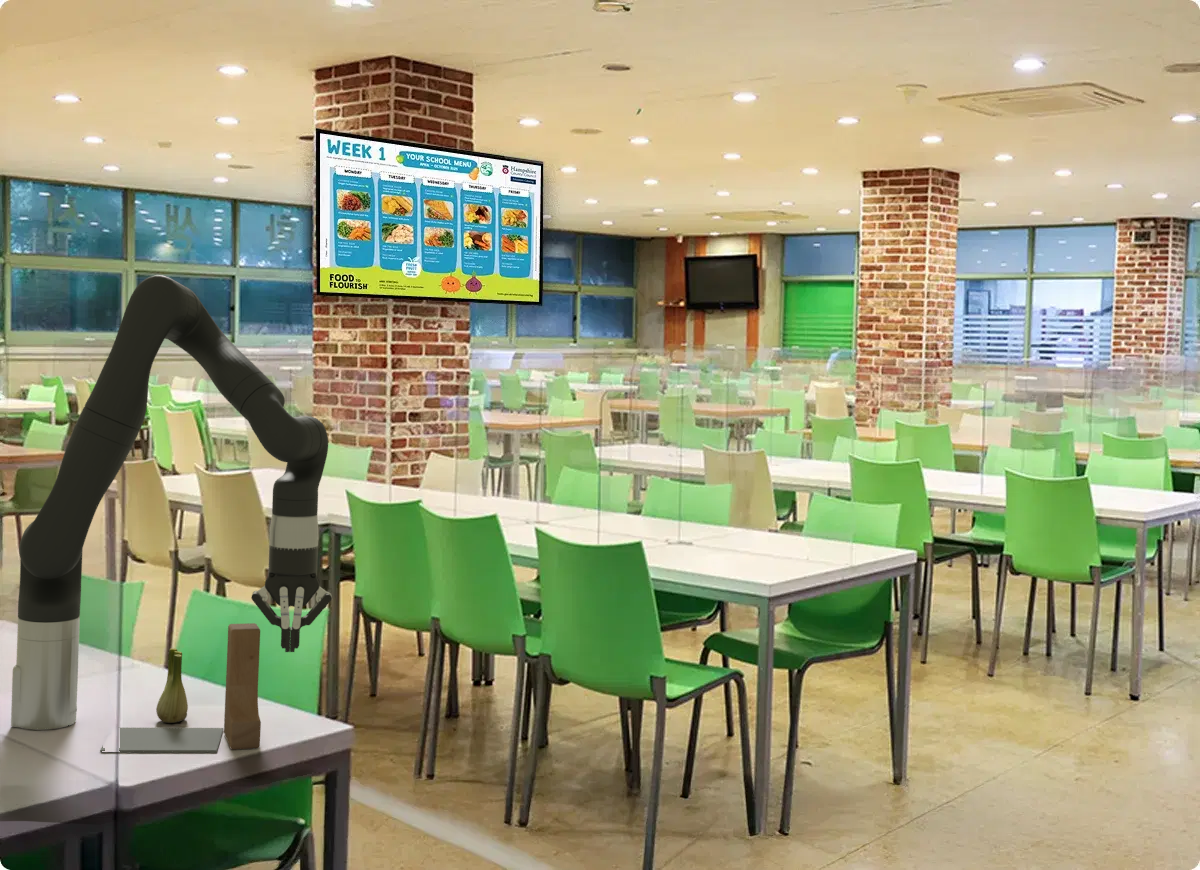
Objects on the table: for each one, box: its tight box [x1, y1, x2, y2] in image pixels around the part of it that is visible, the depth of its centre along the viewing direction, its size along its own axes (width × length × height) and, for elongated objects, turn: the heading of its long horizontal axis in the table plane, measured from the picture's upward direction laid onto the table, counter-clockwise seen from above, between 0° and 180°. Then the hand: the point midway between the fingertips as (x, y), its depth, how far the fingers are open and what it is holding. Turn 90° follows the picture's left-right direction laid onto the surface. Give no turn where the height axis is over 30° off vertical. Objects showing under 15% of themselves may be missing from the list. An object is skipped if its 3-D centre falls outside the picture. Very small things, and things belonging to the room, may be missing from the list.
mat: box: [99, 727, 224, 754], centre depth 211 cm, size 17×12×1 cm
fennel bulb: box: [155, 647, 189, 724], centre depth 221 cm, size 6×5×12 cm
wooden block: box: [223, 622, 262, 751], centre depth 212 cm, size 9×4×18 cm, turn 22°
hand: (290, 651), depth 214 cm, fingers closed
